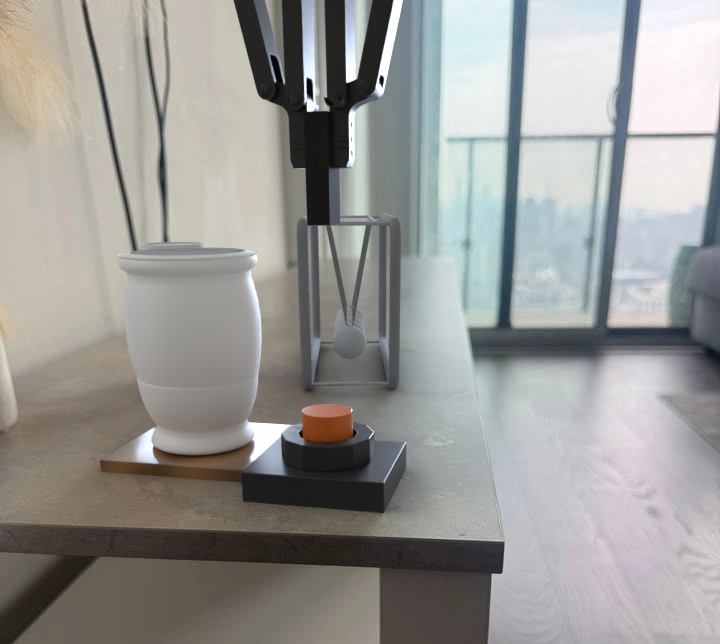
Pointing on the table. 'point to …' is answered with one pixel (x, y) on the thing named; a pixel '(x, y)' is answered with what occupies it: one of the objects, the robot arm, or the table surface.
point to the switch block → (326, 471)
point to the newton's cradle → (349, 318)
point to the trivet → (190, 457)
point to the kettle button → (327, 422)
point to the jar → (194, 344)
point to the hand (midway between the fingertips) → (324, 224)
